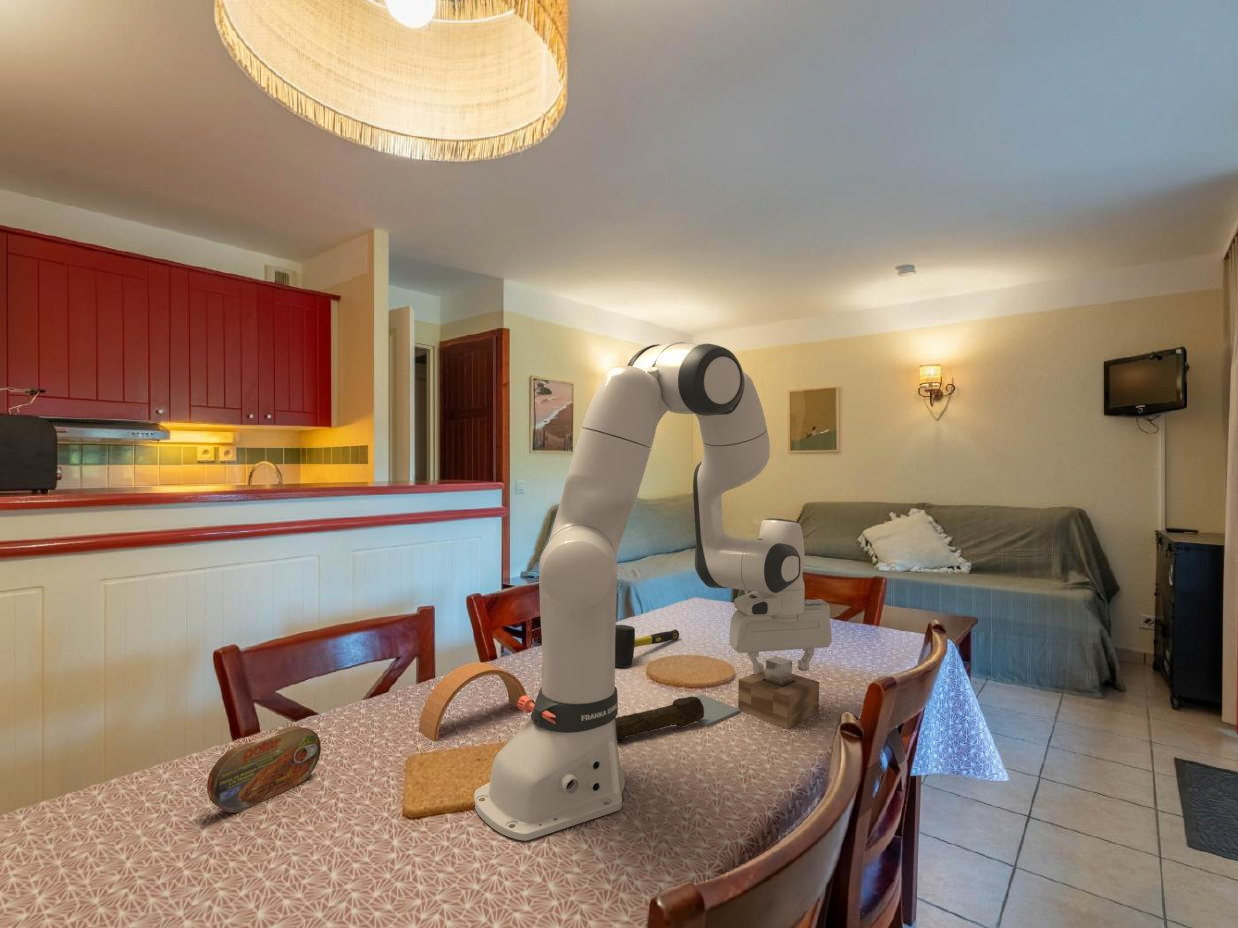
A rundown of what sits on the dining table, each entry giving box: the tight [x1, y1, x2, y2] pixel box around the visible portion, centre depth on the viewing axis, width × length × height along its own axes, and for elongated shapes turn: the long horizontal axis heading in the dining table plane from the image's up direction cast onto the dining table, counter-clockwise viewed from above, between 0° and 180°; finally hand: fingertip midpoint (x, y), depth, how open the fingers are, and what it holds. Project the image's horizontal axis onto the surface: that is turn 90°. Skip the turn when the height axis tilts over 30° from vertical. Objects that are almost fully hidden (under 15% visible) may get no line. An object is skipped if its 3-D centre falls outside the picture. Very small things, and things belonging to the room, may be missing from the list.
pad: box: [695, 694, 742, 728], centre depth 117 cm, size 10×10×1 cm
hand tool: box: [615, 696, 704, 742], centre depth 108 cm, size 19×4×5 cm, turn 112°
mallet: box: [615, 624, 680, 668], centre depth 152 cm, size 29×6×10 cm, turn 144°
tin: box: [206, 725, 322, 814], centre depth 87 cm, size 15×3×8 cm, turn 148°
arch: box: [418, 661, 528, 742], centre depth 112 cm, size 6×20×10 cm, turn 134°
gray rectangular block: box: [765, 655, 793, 687], centre depth 117 cm, size 4×4×8 cm
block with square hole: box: [737, 668, 820, 730], centre depth 117 cm, size 11×11×6 cm
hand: (781, 671), depth 117 cm, fingers open, 8 cm apart
